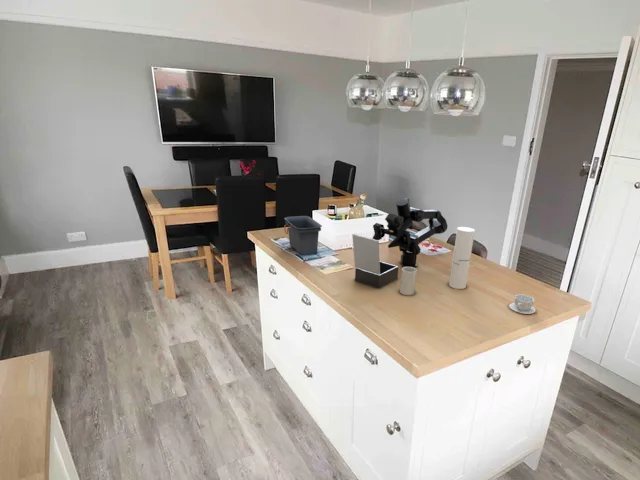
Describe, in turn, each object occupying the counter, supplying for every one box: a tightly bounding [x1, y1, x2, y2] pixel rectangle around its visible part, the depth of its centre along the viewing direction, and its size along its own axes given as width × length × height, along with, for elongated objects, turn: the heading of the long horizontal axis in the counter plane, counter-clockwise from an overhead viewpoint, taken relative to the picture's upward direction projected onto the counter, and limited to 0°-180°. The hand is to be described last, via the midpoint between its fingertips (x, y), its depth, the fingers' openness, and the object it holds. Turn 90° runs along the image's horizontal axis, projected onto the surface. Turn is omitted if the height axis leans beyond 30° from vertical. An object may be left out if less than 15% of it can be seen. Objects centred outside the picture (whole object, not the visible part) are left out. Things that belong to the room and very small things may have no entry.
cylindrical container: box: [448, 226, 476, 290], centre depth 175 cm, size 7×7×25 cm
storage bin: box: [284, 215, 323, 256], centre depth 206 cm, size 21×16×14 cm
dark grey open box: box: [354, 260, 399, 289], centre depth 179 cm, size 14×12×6 cm
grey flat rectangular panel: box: [352, 233, 381, 275], centre depth 168 cm, size 15×12×1 cm
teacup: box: [508, 293, 537, 315], centre depth 162 cm, size 10×10×5 cm
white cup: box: [399, 266, 418, 296], centre depth 168 cm, size 6×6×10 cm
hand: (380, 244), depth 177 cm, fingers open, 9 cm apart
